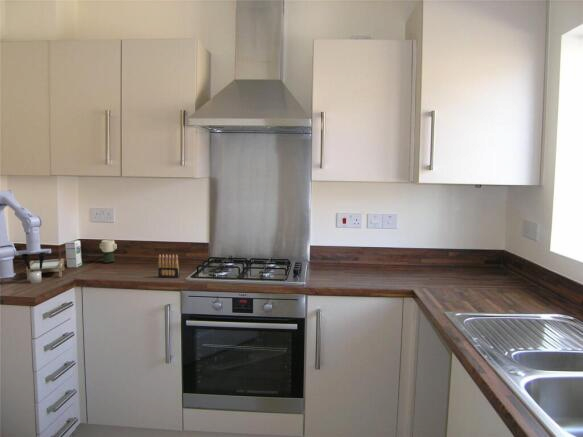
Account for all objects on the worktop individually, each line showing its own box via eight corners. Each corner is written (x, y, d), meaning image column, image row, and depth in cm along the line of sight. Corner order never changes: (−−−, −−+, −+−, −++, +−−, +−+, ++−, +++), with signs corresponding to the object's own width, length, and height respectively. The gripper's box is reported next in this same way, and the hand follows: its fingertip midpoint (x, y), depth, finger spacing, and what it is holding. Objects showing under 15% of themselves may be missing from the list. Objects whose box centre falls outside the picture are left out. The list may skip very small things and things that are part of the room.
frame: (27, 280, 215) (26, 267, 214) (32, 272, 229) (31, 260, 228) (61, 276, 220) (60, 264, 220) (64, 270, 235) (63, 258, 234)
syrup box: (77, 267, 241) (75, 241, 239) (66, 267, 241) (65, 241, 240) (82, 265, 247) (80, 240, 245) (72, 265, 247) (70, 240, 245)
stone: (29, 283, 208) (28, 273, 207) (31, 281, 212) (30, 271, 211) (40, 282, 210) (40, 272, 209) (42, 280, 214) (41, 270, 213)
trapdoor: (34, 264, 227) (34, 260, 227) (60, 262, 232) (60, 258, 232) (30, 269, 215) (30, 265, 215) (57, 267, 220) (57, 263, 220)
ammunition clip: (158, 277, 220) (157, 254, 218) (159, 276, 221) (158, 253, 220) (178, 278, 218) (177, 254, 217) (179, 277, 220) (179, 253, 219)
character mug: (120, 261, 256) (119, 239, 255) (113, 264, 249) (112, 242, 248) (104, 260, 258) (103, 239, 257) (96, 263, 251) (95, 241, 250)
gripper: (13, 243, 202) (16, 271, 204) (49, 241, 208) (51, 269, 209) (16, 241, 208) (18, 268, 210) (50, 239, 214) (52, 266, 216)
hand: (35, 268), depth 210 cm, fingers open, 4 cm apart
